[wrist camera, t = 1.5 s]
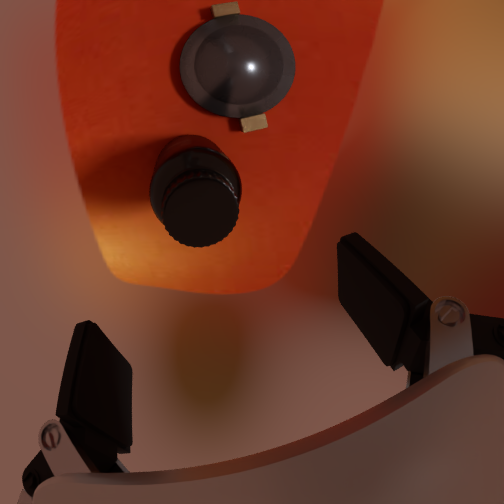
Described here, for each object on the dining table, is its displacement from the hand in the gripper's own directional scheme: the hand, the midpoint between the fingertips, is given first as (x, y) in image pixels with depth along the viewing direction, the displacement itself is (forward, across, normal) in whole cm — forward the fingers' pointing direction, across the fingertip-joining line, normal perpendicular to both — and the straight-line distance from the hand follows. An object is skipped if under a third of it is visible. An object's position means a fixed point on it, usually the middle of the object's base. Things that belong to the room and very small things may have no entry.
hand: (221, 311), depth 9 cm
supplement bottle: (+20, 0, -1) cm, 20 cm away
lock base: (+20, -7, -10) cm, 23 cm away
